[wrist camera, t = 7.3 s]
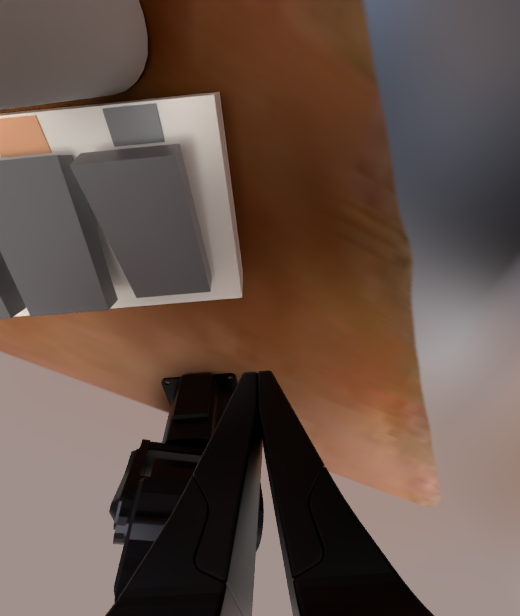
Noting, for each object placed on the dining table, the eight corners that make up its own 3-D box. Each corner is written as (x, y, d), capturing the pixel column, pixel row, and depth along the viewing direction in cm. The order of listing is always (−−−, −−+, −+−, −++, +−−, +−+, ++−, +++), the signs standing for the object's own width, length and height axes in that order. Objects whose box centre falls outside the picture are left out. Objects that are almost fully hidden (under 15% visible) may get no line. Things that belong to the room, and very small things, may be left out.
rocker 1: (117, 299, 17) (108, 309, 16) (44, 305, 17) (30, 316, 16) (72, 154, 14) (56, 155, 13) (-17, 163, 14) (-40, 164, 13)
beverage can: (34, 65, 14) (-408, 42, 5) (34, -85, 12) (-959, -836, 2) (142, 113, 16) (-33, 171, 6) (163, -14, 13) (-88, -282, 3)
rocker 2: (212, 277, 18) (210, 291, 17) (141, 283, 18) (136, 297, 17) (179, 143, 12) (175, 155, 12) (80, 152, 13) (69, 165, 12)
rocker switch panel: (242, 272, 21) (242, 299, 18) (-5, 293, 21) (-40, 322, 19) (219, 91, 15) (213, 94, 13) (-123, 125, 16) (-196, 135, 13)
